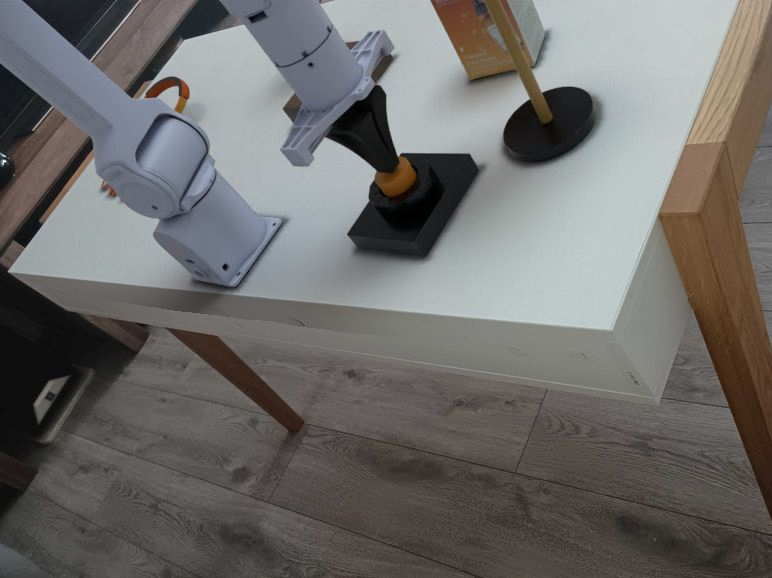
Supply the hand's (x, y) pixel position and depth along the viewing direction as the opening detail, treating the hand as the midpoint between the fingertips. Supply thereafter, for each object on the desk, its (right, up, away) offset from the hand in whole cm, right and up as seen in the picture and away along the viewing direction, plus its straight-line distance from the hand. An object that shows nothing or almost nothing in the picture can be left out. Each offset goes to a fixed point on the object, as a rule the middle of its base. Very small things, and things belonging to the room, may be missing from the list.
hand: (389, 167), depth 69 cm
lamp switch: (+1, -1, +2) cm, 2 cm away
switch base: (+3, -3, +4) cm, 6 cm away
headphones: (-38, +13, +41) cm, 58 cm away
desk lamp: (+15, +4, +2) cm, 16 cm away
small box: (+12, +15, +13) cm, 23 cm away
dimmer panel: (-8, +15, +25) cm, 31 cm away
